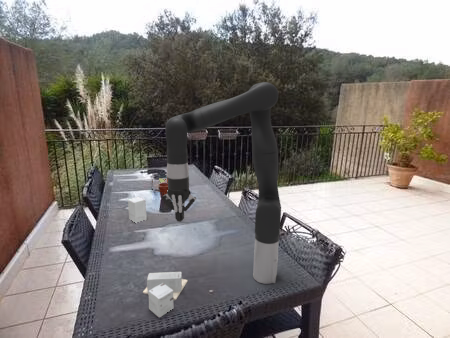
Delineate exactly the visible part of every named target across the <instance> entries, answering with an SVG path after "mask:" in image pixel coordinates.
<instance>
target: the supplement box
mask: <svg viewBox="0 0 450 338" xmlns="http://www.w3.org/2000/svg"><path fill="white" fill-rule="evenodd" d="M146 201H147V200H146V199H145V198H142V197H141V196H135V197H133V198H130V199H127V209H128V220H129V219H130V220H132V221H133V222H132V221H131V222H132V223H134V222H135V223H136V224H138V223H137V222H139V223H141V222H140V221H142V222H144V221H143V220H145V221H147V220H148V219H147V202H146ZM130 220H129V221H130ZM135 223H134V224H135Z"/></svg>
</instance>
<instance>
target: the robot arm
mask: <svg viewBox="0 0 450 338" xmlns="http://www.w3.org/2000/svg"><path fill="white" fill-rule="evenodd" d="M278 100H279V91H278V89H277V87H276V86H275V85H274V84H273V83H271V82H267V81H263V82H257V83H255V84H254V85H252V86H251V87H249V90H247V91H245V92H244V93H241V94H239V95H236V96H234V97H231V98H227V99H224V100H220V101H218V102H213V103H211V104H207V105H204V106H201V107H199V108H196V109H194V110H191V111H190V112H186V113H181V114H179V115H175V116H172V117H171V118H169V119H167V121H166V123H165V126H164V127H165V128H164V129H165V138H166V139H165V141H166V164H167V165H166V175H167V183H168V190H167V192H166V193H165V194H164V195H162V196H161V199H162V201H163V202H164V203H165V205H166V206H167V207H168V209H169V210H170V211H174V214H175V217H174V218H175V220H176V222H179V223H182V221H183V220H185V212H187V210H189V209H190V207H191V206H192V205H194V203H195V201H197V197H196V196H193V195H192V194H191V191H190V172H189V168H190V167H189V164H188V163H189V161H188V158H189V156H188V155H189V154H188V148H187V147H188V146H187V145H188V134H189V133H192V132H194V131H201V130H205V129H207V128H210V127H213V126H215V125H216V126H217V125H218V124H221V123H223V122H225V121H228V120H231V119H234V118H235V117H238V116H241V115H245V114H249V116H250V117H249V118H250V122H251V123H250V124H251V149H252V150H251V151H252V164H253V169H254V173H255V177H256V180H257V185H258V197H257V198H258V199H257V206H256V209H255V215H254V216H255V218H254V220H255V221H254V251H253V253H254V254H253V271H252V278H253V279H254V280H255V281H256V282H257V283H260V284H265V285H268V284H276V281H277V274H278V263H279V262H278V261H279V244H280V243H279V242H280V234H281V233H280V230H281V221H282V220H281V217H282V205H281V200H280V194H279V193H280V192H279V188H278V179H279V150H278V149H279V148H278V143H277V139H276V135H275V133H274V130H273V127H272V119H271V108H273V107H274V106H275V105H276V104H277V102H278ZM186 201H188V203H186Z"/></svg>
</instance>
